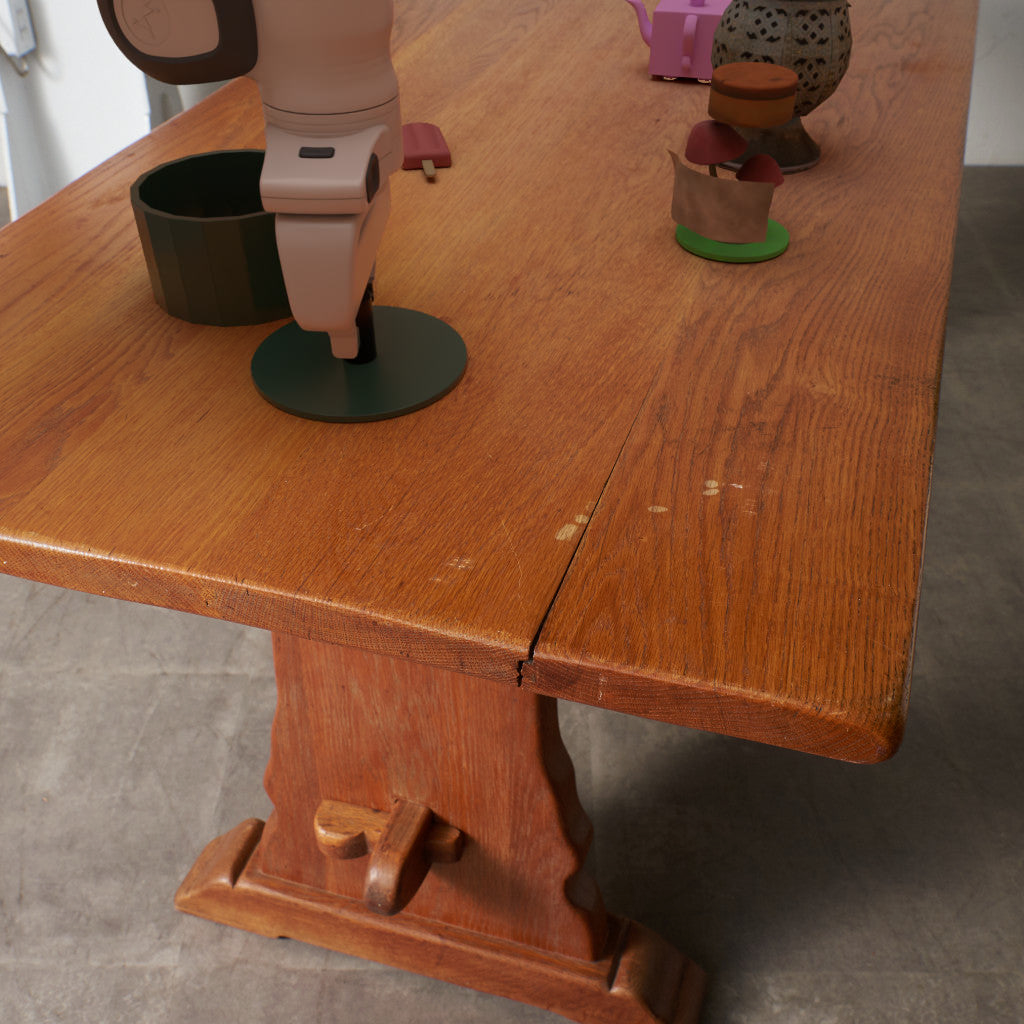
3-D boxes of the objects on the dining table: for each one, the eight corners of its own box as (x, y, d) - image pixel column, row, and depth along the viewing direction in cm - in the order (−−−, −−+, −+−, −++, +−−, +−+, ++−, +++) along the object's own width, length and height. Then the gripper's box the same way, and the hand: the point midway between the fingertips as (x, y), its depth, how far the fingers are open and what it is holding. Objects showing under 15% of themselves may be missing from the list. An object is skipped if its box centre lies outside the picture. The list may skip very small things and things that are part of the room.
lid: (228, 427, 72) (211, 351, 68) (279, 316, 84) (267, 246, 80) (458, 432, 71) (455, 356, 67) (474, 319, 84) (472, 249, 80)
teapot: (609, 82, 134) (614, -1, 127) (628, 54, 144) (634, -25, 137) (746, 93, 130) (759, 8, 123) (756, 63, 140) (768, -17, 134)
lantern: (727, 123, 121) (760, -120, 105) (844, 145, 115) (897, -109, 99) (679, 159, 112) (706, -102, 96) (803, 185, 106) (854, -88, 90)
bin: (131, 331, 82) (101, 220, 76) (186, 248, 94) (164, 147, 88) (318, 334, 82) (303, 223, 76) (350, 251, 94) (338, 149, 88)
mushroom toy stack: (692, 203, 102) (710, 45, 93) (811, 231, 97) (843, 67, 88) (637, 245, 95) (651, 78, 85) (764, 278, 89) (793, 104, 80)
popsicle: (405, 170, 105) (393, 123, 117) (406, 185, 106) (394, 136, 118) (456, 166, 106) (439, 120, 117) (456, 181, 107) (439, 133, 118)
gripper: (317, 89, 75) (338, 263, 83) (251, 197, 59) (285, 397, 67) (402, 90, 74) (414, 264, 83) (359, 198, 59) (379, 399, 67)
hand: (356, 325), depth 75 cm, fingers open, 7 cm apart
